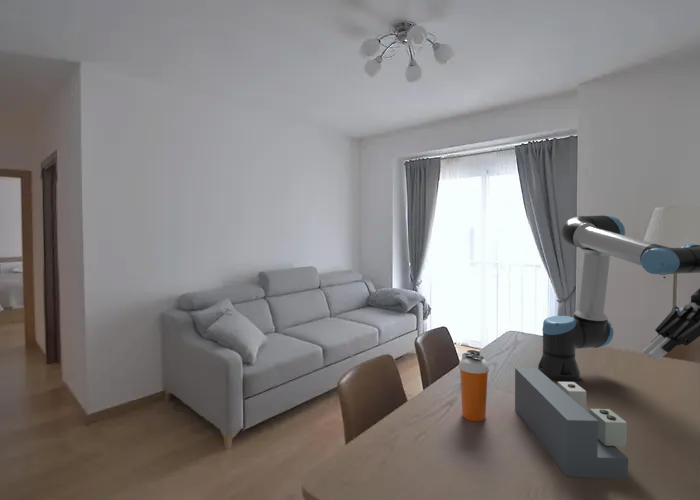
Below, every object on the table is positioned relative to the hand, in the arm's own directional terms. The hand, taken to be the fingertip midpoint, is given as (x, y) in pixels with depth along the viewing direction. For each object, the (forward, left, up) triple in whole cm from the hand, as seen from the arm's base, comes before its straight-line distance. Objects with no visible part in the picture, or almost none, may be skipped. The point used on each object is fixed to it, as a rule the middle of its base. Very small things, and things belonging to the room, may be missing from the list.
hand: (649, 355), depth 103 cm
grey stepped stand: (-15, -18, -24) cm, 33 cm away
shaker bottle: (-38, -27, -24) cm, 52 cm away
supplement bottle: (-55, -4, -24) cm, 60 cm away
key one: (-17, -7, -19) cm, 26 cm away
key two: (-3, -18, -19) cm, 26 cm away
